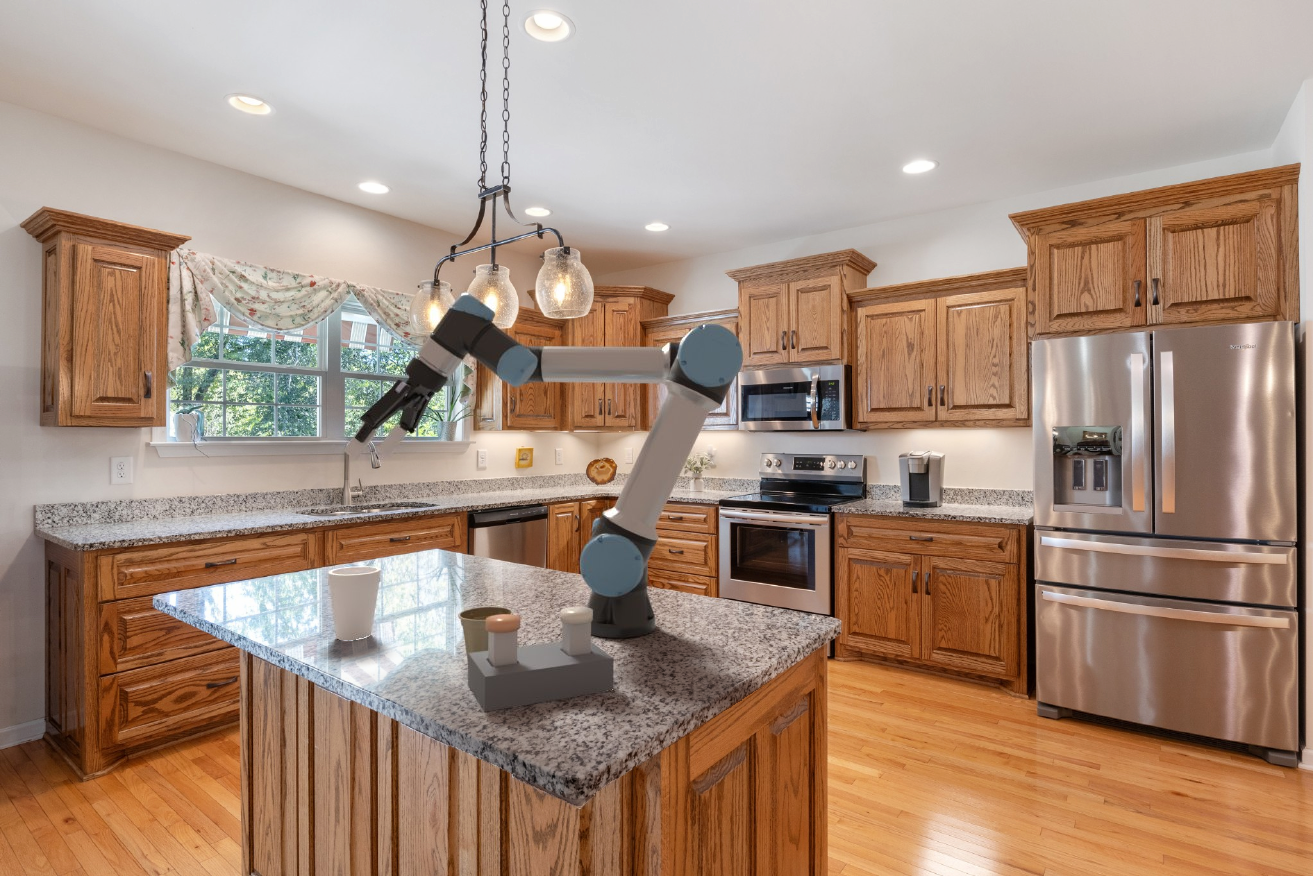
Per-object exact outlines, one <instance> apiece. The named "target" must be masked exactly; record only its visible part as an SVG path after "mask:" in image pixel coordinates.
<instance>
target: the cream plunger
mask: <svg viewBox="0 0 1313 876" xmlns="http://www.w3.org/2000/svg"><path fill="white" fill-rule="evenodd" d="M592 620H593V610H592V609H591V608H587V606H571V607H570V606H569V607H566V608H562V609H560V622H561V624H562V625H561V626H562V631H561V634H562V635H561V636H562V638H561V641H562V651H563V652H564V653H565V654H566V655H567V656H574V655H581V654H588V653H591V642H592V634H591V621H592Z"/></svg>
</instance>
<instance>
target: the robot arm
mask: <svg viewBox="0 0 1313 876" xmlns="http://www.w3.org/2000/svg"><path fill="white" fill-rule="evenodd" d="M495 317H496V312H495V311H494V310H492V308H490V307H489V306H487V305H486V304H485V303H484V302H482V301H480V300H479V299H478V298H477V297H475V296H474V295H473V294H471V293H469V292H463V293H461V294H460V295H459V296H458V298H456V299H455V301H454V302H453V303H452V304H451V306H450V307H448V310H447V311H446V312H445V314H444V315H443V316H442V318H441V319H440V321H439V322H438V323H437V325H436V326H435V328H434V330H433V331H432V333H430V335H429V336H428V337H427V338H425V339H423V340H422V343H423V345H421V346H420V348H419V349H418V351H417V354H418V355H415V356H413V357H412V358H411V360H410V361H409V363H408V364H407V365H406V367H405V369H404V371H405V374H406V375H407V376H408V379H407V380H406V381H405V382H404V381H403V380H402V379H400V378H399V379H397V380H396V381H395V383H393V385H392V386H391V387H390V389H389V390H387V391H386V392H385V394H383V395H382V396H381V397H380V398H379V399H378V400H377V401H376V402H375V403H374V404H372V406H370V408H368V409H367V411H365V412H364V414H362V415H361V416H360V418H359V419H360V421H361V422H362V425H361V427H359V429H357V431H356V433H355V435H354V436H352V438H351V440H350V441H349V443H348V444H347V445H346V447H344V449H343V450H342V451H343V452H344V453H345V454H347V455H348V456H350V457H351V458H352V459H353V460H355V461H356V460H359V457H360V456H361V455H362V454H363V452H364V451H365V450H366V448H367V447H368V445H370V443H371V441H372V440H373V438H374V437H375V436H376V434H377V433H378V432H379V430H378V429H379V428H380V427H381V426H382V425H384V423H386V422H387V421H388V420H390V419H391V418H392V417H393V416H394V415H396V414H397V413H399V412H400V411H401V410H402V413H401V415H400V418H399V423H398V424H395V425H394V426H393V427H392V429H391V430H390V431H389V433H388V434H387V435H386V437H385V438H384V440H383V441H382V443H380V445H379V447H378V448H377V449H376V451H377V452H378V453H380V454H381V455H383V456H384V457H385V458H386V459H389V458H390V457H391V456H392V454H393V453H394V452H395V451H396V449H397V448H398V447H399V445H400V444H401V442H402V441H403V440H404V439H405V437H406V436H407V435H408V433H409V434H414V433H415V432H416V429H417V427H418V426H419V423H420V422H421V420H422V417H423V416H424V414H425V411H426V410H427V407H428V405H429V403H430V401H431V400H432V398H433V397H434V396H435V394H436V393H437V394H438V393H440V391H441V390H442V389H443V387H444V386H445V384H446V383H447V382H448V381H449V378H448V376H452V375H453V374H454V373H455V372H456V370H457V369H458V367H459V366H460V365H461V363H462V362H463V361H464V359H465V357H466V356H467V355H470V356H471V358H474V359H475V360H476V361H478V362H479V363H480V364H482V365H483V366H484V367H485V368H487V369H488V370H489V371H490V372H492V373H494V374H495V375H496V376H497V377H498V379H500V380H501V381H503V382H505V383H507V384H508V385H510V386H512V387H513V388H518V387H520V386H522V385H526V384H531V383H595V384H596V383H597V384H598V383H599V384H600V383H603V384H605V383H608V384H609V383H610V384H615V383H616V384H618V383H619V384H663V385H664V386H665V388H666V389H667V394H666V397H665V399H664V401H663V403H662V405H661V407H660V410H659V411H658V413H657V416H656V418H655V420H654V421H653V424H652V426H651V428H650V430H649V432H648V435H647V437H646V438H645V441H644V443H643V444H642V445H643V446H642V448H641V450H640V451H639V453H638V456H637V458H636V460H635V462H634V465H632V466H633V467H632V468H631V471H630V473H629V475H628V477H627V478H626V481H625V483H624V486H623V487H622V489H621V492H620V494H619V496H618V499H617V500H616V503H615V504H614V506H613V507H612V508H610V509H607V510H604V511H602V514H601V515H600V517H597V518H595V519H594V520H593V521H592V528H591V534H592V535H591V537H590V539H589V541H588V542H587V543H586V544H585V545H584V547H583V549H581V553H580V557H579V559H580V560H579V571H580V574H581V577H582V579H583V581H584V583H585V584H586V585H587V587H588V588H590V589H591V593H590V596H589V598H588V602H587V605H586V607H587V608H591V609H592V610H593V620H592V621H591V636H596V637H602V638H613V639H617V638H619V639H620V638H622V639H624V638H626V639H627V638H634V637H641V636H645V635H648V633H649V634H650V633H652V631H653V630H654V629H655V630H656V616H655V613H654V608H653V606H652V602H651V600H650V596H649V592H648V571H649V570H648V566H649V565H648V562H649V559H650V557H651V555H652V553H653V551H654V549H655V547H656V545H657V542H658V541H659V538H660V537H659V535H658V531H657V529H656V526H657V523H658V522H659V519H660V518H661V516H662V514H663V511H664V509H665V507H666V504H667V503H668V500H669V498H670V496H671V494H672V492H673V489H674V488H675V485H676V483H677V482H678V479H679V477H680V475H681V473H682V470H683V468H684V467H685V464H686V462H687V460H688V459H689V455H690V454H691V453H692V449H693V447H694V445H695V444H696V441H697V439H698V436H699V435H700V433H701V430H702V429H703V427H704V425H705V422H706V420H707V418H708V415H709V413H710V412H712V411H715V410H717V409H720V408H721V407H722V405H723V402H724V400H725V399H726V397H727V394H728V392H729V390H730V388H731V386H732V384H733V382H734V380H735V378H736V377H737V376H738V374H739V372H740V371H741V369H742V366H743V363H744V362H743V361H744V353H743V352H744V351H743V348H742V344H741V342H740V340H739V338H738V337H737V335H736V334H735V333H734V332H733V331H731V329H729V328H728V327H725V326H723V325H721V324H717V323H705V324H700V325H697V326H696V327H694V328H692V329H691V330H690V331H688V332H687V333H686V334H685V335H684V336H683V337H682V339H681V340H680V341H668V342H667V343H666V345H665V346H573V345H571V346H568V345H567V346H566V345H565V346H556V345H555V346H548V345H547V346H541V345H540V346H538V345H536V346H535V345H533V346H532V345H530V346H529V345H528V346H527V345H524V344H522V343H521V342H519V341H517V340H516V339H515V338H513V337H512V336H510V335H509V334H508V333H506V332H505V331H504V330H503V329H501V328H499V327H498V326H497V325H496V324H495V323H494V322H493V321H494V319H495ZM655 630H654V631H655ZM654 631H653V632H654Z"/></svg>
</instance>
